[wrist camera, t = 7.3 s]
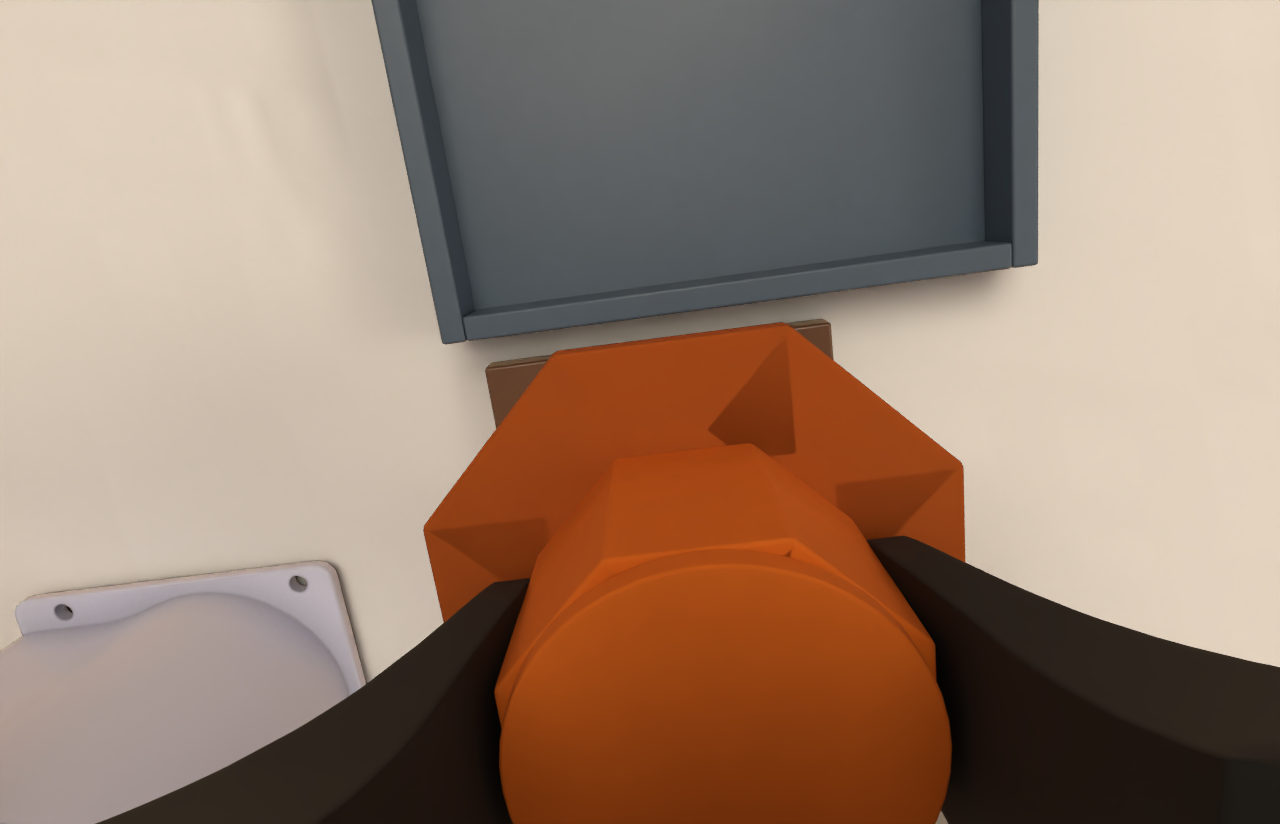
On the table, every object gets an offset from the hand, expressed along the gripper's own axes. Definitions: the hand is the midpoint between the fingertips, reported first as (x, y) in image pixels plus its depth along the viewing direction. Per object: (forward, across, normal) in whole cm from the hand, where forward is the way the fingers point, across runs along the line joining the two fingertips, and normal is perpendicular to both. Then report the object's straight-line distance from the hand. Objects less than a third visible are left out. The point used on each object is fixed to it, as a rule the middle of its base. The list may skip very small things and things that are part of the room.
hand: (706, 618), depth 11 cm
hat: (+1, 0, 0) cm, 1 cm away
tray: (+10, -2, -10) cm, 14 cm away
